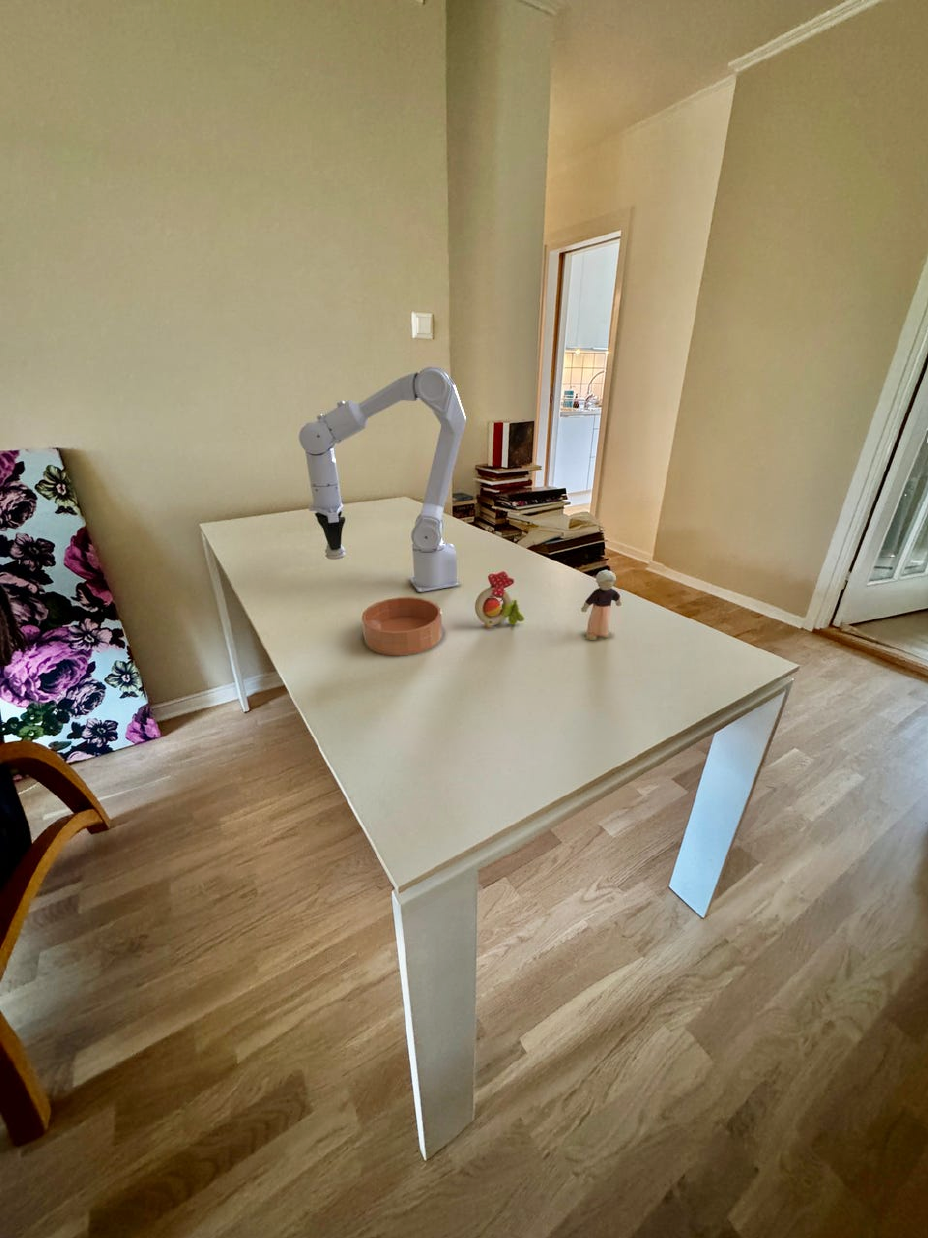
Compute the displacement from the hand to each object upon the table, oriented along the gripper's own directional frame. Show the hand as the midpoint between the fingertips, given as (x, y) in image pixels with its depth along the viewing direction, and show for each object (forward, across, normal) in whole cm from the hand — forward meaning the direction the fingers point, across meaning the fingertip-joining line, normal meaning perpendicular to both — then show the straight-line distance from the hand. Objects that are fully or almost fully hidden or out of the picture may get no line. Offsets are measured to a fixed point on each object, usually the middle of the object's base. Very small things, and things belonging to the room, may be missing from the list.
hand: (334, 546), depth 106 cm
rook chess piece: (+3, 0, 0) cm, 3 cm away
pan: (+9, +29, +8) cm, 31 cm away
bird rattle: (+10, +32, +26) cm, 42 cm away
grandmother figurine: (+10, +42, +40) cm, 60 cm away
